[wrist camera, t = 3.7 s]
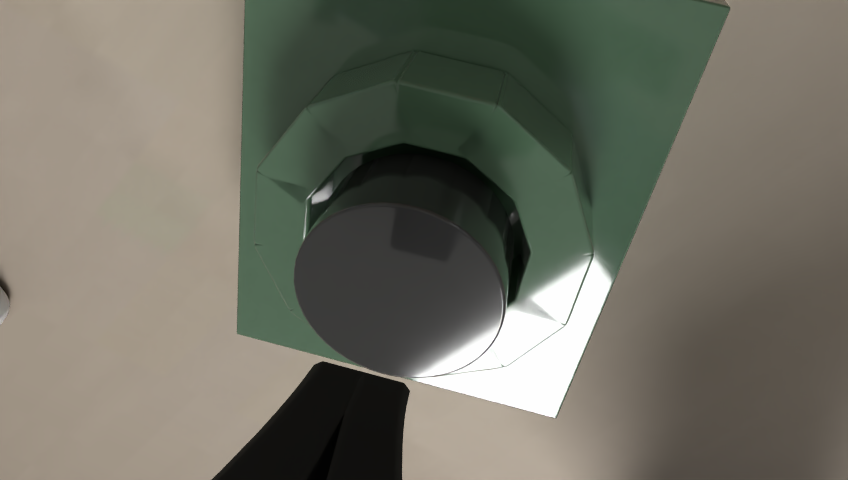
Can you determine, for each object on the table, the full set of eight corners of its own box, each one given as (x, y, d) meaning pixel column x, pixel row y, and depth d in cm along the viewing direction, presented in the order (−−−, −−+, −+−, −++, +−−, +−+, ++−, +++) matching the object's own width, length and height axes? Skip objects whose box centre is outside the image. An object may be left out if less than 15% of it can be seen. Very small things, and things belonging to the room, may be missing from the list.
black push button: (489, 333, 15) (478, 400, 13) (318, 289, 15) (286, 349, 14) (536, 180, 13) (531, 236, 11) (335, 130, 13) (300, 178, 11)
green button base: (558, 341, 21) (554, 474, 17) (278, 268, 21) (206, 380, 17) (703, -30, 15) (754, 35, 10) (303, -120, 15) (201, -91, 11)
